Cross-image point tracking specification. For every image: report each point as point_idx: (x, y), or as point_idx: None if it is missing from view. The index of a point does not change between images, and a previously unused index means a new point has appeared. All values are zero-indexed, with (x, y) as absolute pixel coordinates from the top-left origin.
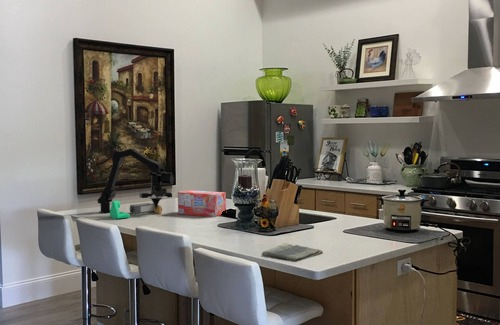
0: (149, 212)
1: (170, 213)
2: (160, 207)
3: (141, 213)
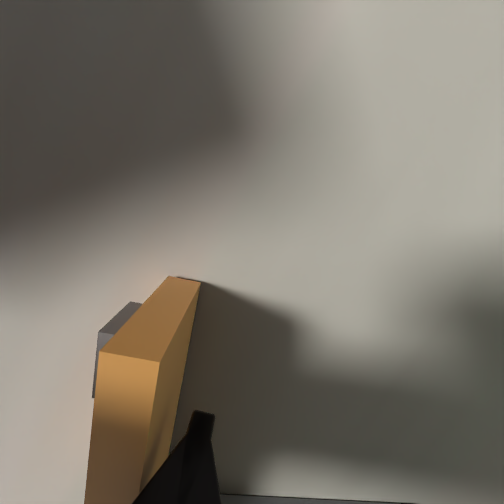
0: (224, 495)
1: (22, 230)
2: (139, 336)
3: (333, 500)
